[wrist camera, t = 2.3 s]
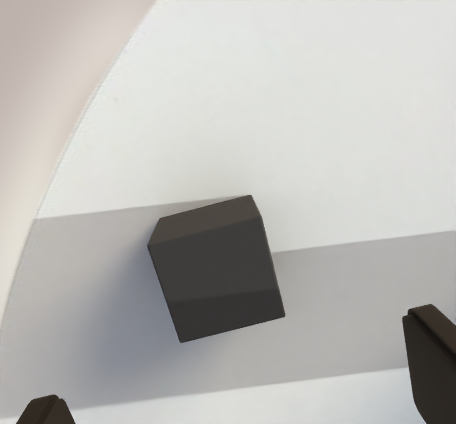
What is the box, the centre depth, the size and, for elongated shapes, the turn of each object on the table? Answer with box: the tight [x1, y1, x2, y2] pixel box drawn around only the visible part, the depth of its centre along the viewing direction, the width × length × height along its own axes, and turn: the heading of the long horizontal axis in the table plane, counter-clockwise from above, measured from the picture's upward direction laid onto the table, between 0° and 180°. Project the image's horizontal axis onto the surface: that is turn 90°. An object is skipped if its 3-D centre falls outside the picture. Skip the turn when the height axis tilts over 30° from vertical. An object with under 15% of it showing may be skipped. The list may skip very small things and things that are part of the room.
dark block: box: [147, 195, 285, 343], centre depth 18 cm, size 5×5×4 cm
